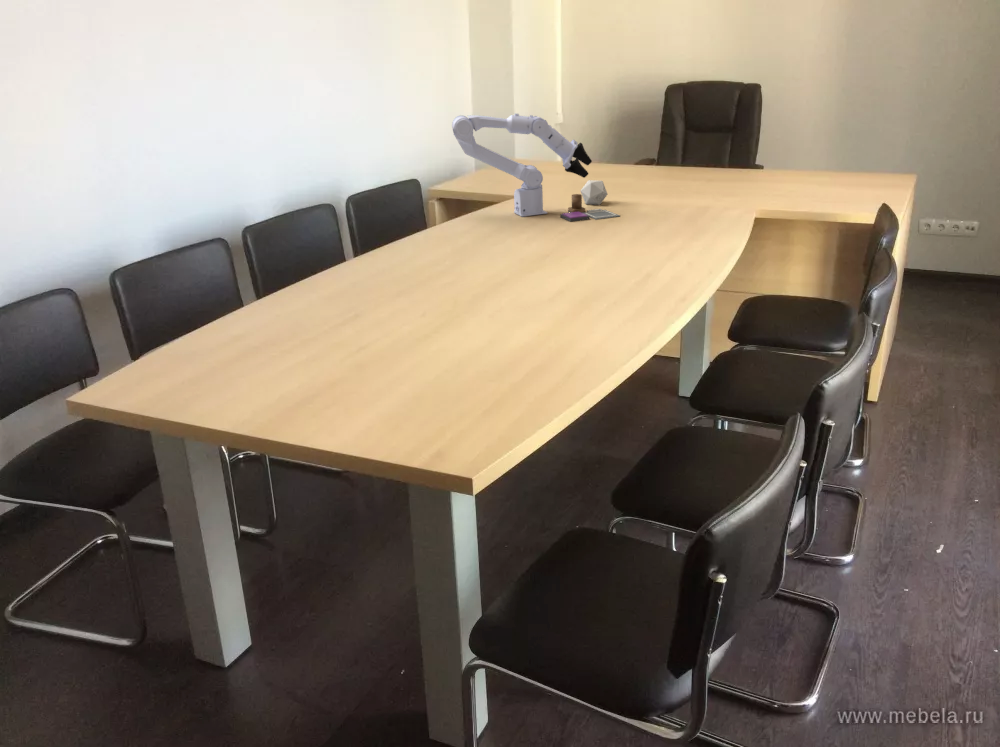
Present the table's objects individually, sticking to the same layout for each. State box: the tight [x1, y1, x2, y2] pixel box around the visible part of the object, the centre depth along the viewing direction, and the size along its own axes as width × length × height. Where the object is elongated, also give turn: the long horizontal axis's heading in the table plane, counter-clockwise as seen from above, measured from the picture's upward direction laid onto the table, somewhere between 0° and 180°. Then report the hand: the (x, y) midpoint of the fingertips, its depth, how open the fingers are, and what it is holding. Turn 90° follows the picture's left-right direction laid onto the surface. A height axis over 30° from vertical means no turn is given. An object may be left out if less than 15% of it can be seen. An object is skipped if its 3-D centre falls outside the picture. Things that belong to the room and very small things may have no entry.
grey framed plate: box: [583, 208, 621, 220], centre depth 282 cm, size 9×11×1 cm
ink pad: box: [559, 211, 591, 223], centre depth 279 cm, size 7×8×1 cm
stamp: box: [567, 193, 586, 213], centre depth 287 cm, size 4×4×6 cm
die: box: [580, 179, 608, 206], centre depth 299 cm, size 8×9×10 cm
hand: (588, 169), depth 287 cm, fingers open, 7 cm apart
